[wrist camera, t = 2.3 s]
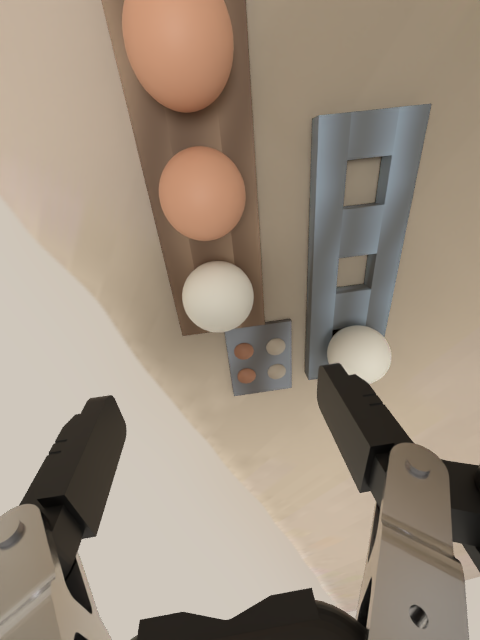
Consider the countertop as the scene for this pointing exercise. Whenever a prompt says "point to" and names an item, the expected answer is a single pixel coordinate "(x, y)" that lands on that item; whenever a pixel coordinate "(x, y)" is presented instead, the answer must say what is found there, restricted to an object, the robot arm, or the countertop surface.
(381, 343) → the cream ball
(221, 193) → the terracotta ball
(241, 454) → the countertop surface
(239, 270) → the cream ball
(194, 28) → the terracotta ball
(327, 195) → the racks
